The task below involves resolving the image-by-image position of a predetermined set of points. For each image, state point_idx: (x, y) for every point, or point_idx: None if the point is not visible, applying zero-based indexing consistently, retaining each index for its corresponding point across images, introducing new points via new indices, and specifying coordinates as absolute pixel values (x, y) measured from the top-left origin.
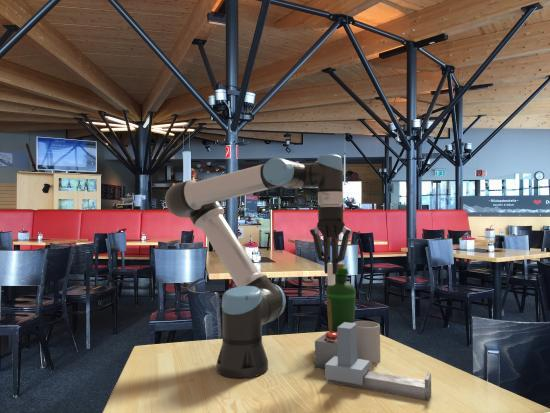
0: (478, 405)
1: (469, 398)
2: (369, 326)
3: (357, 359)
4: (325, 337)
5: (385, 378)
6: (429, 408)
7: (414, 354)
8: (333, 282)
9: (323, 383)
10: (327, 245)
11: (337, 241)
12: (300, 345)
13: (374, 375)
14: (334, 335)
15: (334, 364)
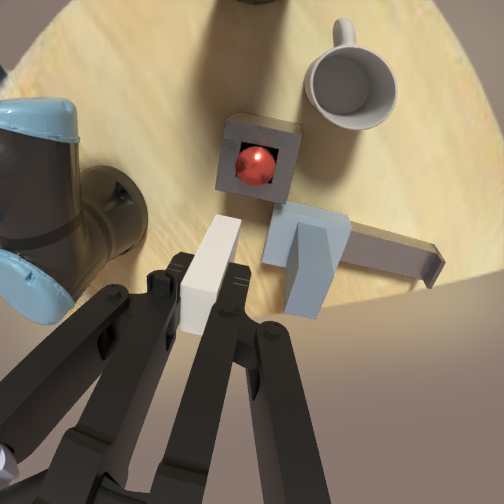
0: (473, 270)
1: (473, 252)
2: (360, 52)
3: (326, 229)
4: (235, 151)
5: (372, 257)
6: (414, 290)
7: (443, 42)
8: (235, 249)
9: (261, 239)
10: (140, 431)
11: (208, 466)
12: (156, 28)
13: (355, 248)
14: (264, 183)
15: (279, 260)
